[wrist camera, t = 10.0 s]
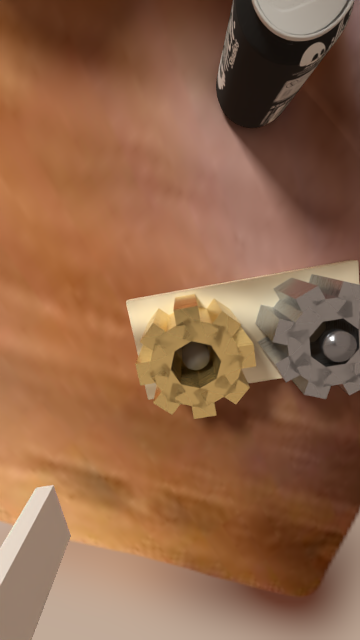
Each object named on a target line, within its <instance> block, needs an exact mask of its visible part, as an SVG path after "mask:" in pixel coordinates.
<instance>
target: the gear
mask: <svg viewBox="0 0 360 640" xmlns="http://www.w3.org/2000/svg"><path fill="white" fill-rule="evenodd" d="M273 289H274V291H275V292H276V294H277V296H278V298H279V301H278V302H277V303H276V305H275V306H274V307H269V306H265V305H261V306H260V309H259V313H258V316H257V320H256V323H255V324H256V325H257V326H258V327H259V328H260V329H261V330H262V331H263V332H264V333H265V334H266V335H267V337H265V338H263V339H261V340H260V341H258V343H259V345H260V346H261V348H262V350H263V351H264V353H265V355H266V356H267V358H268V359H269V360H270V362H271V363H272V364H273V366H274V367H275V368H276V370H277V371H278V372H279V374H280V375H281V376H282V378H283V379H284V380H285V382H288V381H290V380H293V382H294V383H295V384H296V385H297V387H298V388H299V389H300V390H301V392H302V393H303V394H304V395H308V396H313V397H318V398H323V399H326V398H327V395H328V393H329V390H330V387H331V386H332V385H338V386H339V387H340V388H341V389H343V390H344V391H345V392H346V393H347V394H348V395H351V394H353V393H355V392H357V391H359V390H360V285H358V284H354V283H350V282H345V281H341V280H336V279H332V278H327V277H323V276H319V275H314V274H311V278H310V281H309V283H308V282H304V281H301V280H298V279H294V278H290V279H288V280H286V281H285V282H283V283H282V284H280V285H278V286H277V287H275V288H273ZM324 321H325V324H326V329H325V330H324V331H323V333H322V334H321V335H320V336H319V337H318V339H317V340H316V341H315V342H310V340H309V338H310V336H311V335H312V334H313V333H314V332H315V330H316V329H317V328H318V327H319V326H320V324H321V323H322V322H324Z"/></svg>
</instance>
